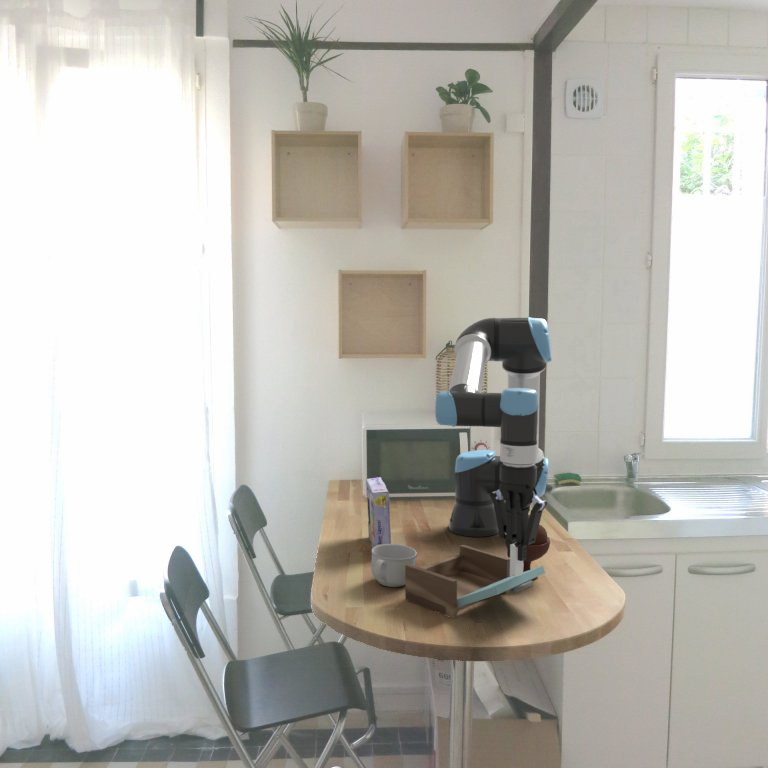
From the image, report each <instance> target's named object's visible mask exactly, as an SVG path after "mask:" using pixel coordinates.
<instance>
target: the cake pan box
mask: <svg viewBox="0 0 768 768" xmlns="http://www.w3.org/2000/svg"><path fill="white" fill-rule="evenodd" d="M366 497H367V515H368V516H367V517H368V522H367V523H368V525H367V527H368V528H367V529H368V530H367V531H368V539H369V542H370V544H371V547H372V548H373V547H375V546H377V545H382V544H392V535H391V534H392V533H391V532H392V531H391V509H390V505H391V504H390V492H389V490H388V488H387V485H386V484H385V482H384V481H383V480H382V477H372V478H366ZM372 548H371V549H372Z"/></svg>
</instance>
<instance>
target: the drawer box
mask: <svg viewBox="0 0 768 768" xmlns="http://www.w3.org/2000/svg"><path fill="white" fill-rule="evenodd" d="M508 577H511V575H510V558H509V557H506V556H503V555H499V554H496V553H492V552H489V551H486V550H482V549H479V548H475V547H472V546H469V545H465V544H462V545H459V554H458V553H457V554H455V555H453V556H450V557H447V558H445V559H442V560H440V561H437V562H433V563H431V564H429V565H428V564H427V565H426V566H423V567H419V566H417V565H415V566H414V565H411V564H407V565H405V585H404V586H405V590H404V591H405V592H404V593H405V594H404V595H405V598H404V599H405V600H406V601H407V600H408V602H410V603H412V604H415V605H418V606H420V607H423V608H425V609H427V610H430V611H432V612H435V611H436V612H435V613H438V612H439V614H440V613H441V615H443V616H445V615H446V617H448V616H449V617H448V618H450V619H451V618H452V619H455V618H457V617H458V611H460V610H462V609H464V608H466V607H468V606H470V605H473V604H475V603H477V602H480V601H481V600H479V601H476V602H473V603H470V604H466V605H463V606H460V607H458V606H457V599H458V598H461V597H463V596H465V595H467V594H470V593H472V592H474V591H477V590H479V589H481V588H484V587H486V586H488V585H491V584H493V583H495V582H498V581H500V580H502V579H505V578H508ZM502 593H503V594H507V595H508V594H510V593H511V589H509V590H507V591H504V592H502Z"/></svg>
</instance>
